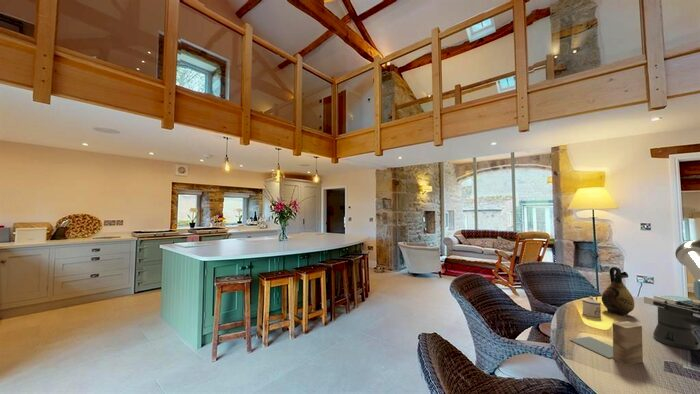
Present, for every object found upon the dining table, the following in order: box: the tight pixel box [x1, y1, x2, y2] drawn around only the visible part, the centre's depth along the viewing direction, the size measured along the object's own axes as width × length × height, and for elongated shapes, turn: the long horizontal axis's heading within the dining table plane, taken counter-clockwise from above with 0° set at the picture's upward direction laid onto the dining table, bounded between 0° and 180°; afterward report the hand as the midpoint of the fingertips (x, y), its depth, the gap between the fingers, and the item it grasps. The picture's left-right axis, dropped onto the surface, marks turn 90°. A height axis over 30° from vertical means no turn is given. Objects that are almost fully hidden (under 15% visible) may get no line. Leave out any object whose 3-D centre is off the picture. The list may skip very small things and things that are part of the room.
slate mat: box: [569, 336, 613, 359], centre depth 131 cm, size 17×14×1 cm
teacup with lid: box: [581, 296, 602, 318], centre depth 173 cm, size 12×9×12 cm
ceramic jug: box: [601, 266, 635, 317], centre depth 176 cm, size 17×15×30 cm
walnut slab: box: [612, 320, 644, 366], centre depth 120 cm, size 5×10×16 cm, turn 104°
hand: (649, 299), depth 113 cm, fingers open, 5 cm apart
